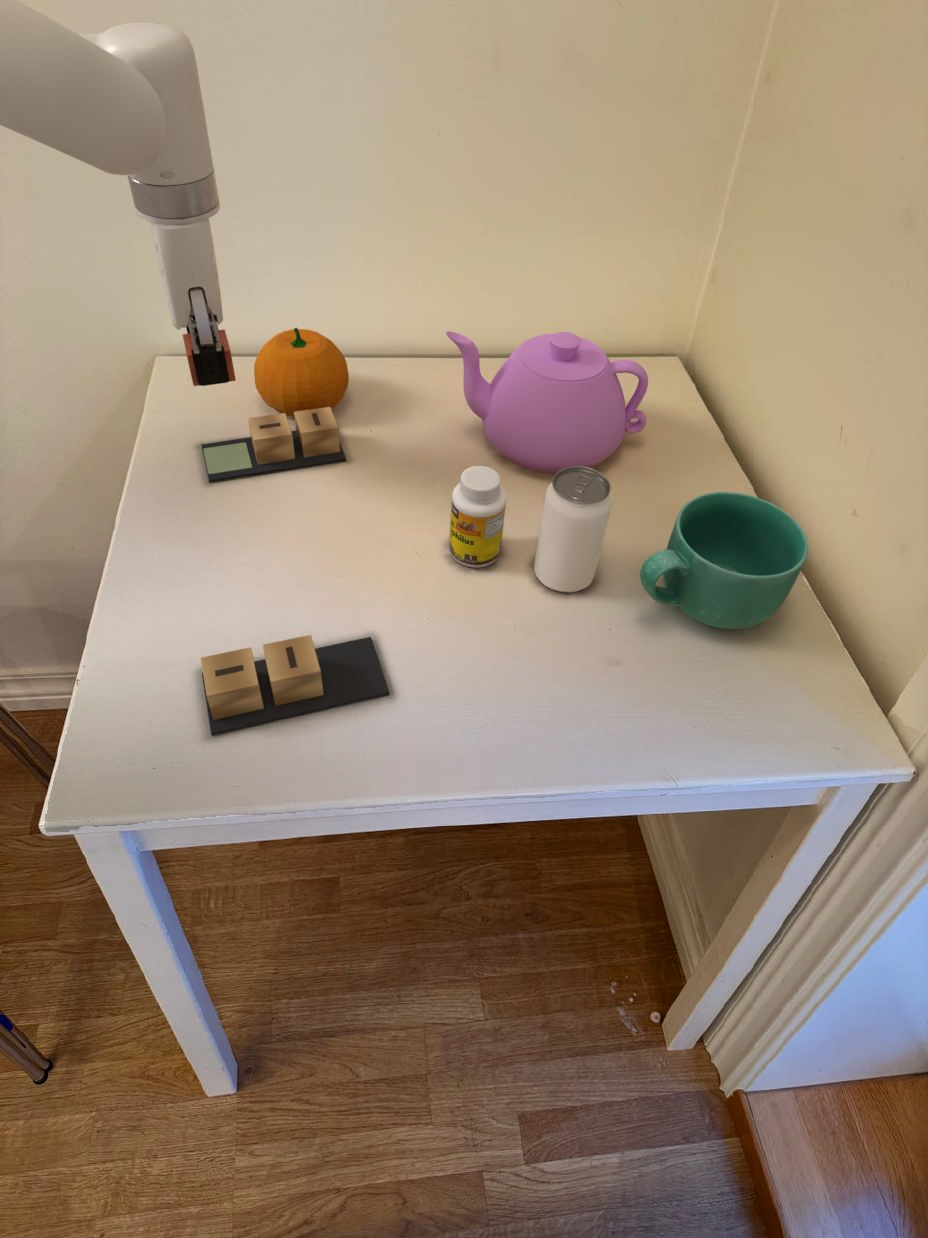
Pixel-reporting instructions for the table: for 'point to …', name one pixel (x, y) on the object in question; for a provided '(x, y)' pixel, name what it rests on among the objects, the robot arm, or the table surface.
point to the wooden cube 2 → (293, 670)
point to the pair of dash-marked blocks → (277, 440)
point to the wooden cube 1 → (231, 683)
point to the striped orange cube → (226, 350)
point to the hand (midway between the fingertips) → (210, 368)
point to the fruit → (300, 372)
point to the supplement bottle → (477, 517)
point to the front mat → (344, 680)
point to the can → (572, 528)
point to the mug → (728, 560)
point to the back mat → (241, 460)
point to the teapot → (553, 401)
